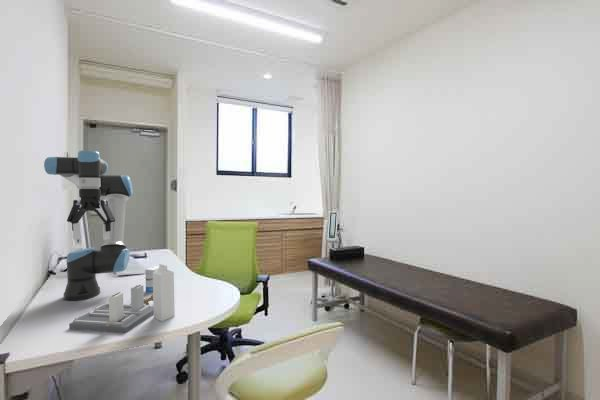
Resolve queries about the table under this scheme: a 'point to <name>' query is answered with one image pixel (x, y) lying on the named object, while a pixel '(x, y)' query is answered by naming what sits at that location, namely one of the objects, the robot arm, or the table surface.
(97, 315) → the grey flat tray
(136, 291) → the fader
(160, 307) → the milk
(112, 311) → the block
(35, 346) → the table surface
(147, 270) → the ink box
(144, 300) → the figurine
